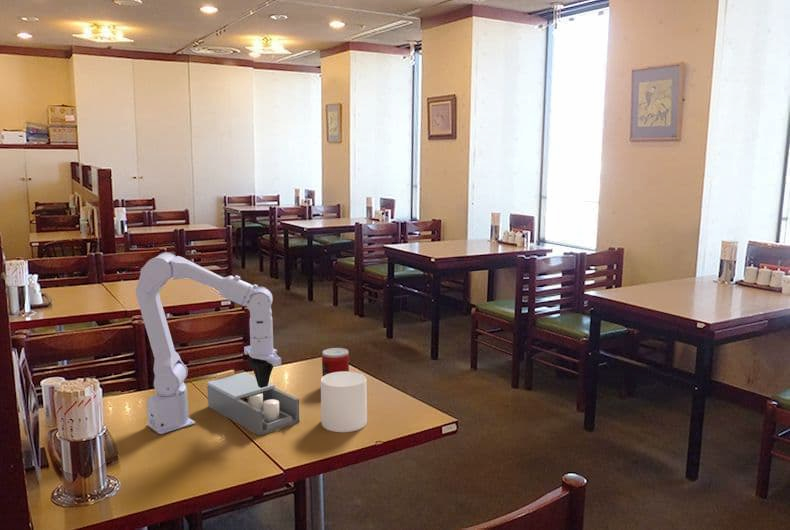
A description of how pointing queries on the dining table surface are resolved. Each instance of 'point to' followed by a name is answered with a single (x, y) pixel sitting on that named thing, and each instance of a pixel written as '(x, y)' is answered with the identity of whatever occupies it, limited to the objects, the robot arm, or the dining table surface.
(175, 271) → the robot arm
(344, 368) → the canned food
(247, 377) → the lid
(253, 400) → the white rounded tapered block
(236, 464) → the dining table surface
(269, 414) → the white rounded cylinder
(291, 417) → the housing
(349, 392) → the white cylinder
